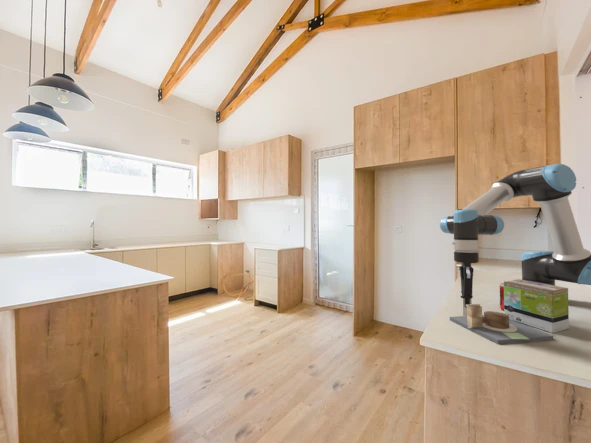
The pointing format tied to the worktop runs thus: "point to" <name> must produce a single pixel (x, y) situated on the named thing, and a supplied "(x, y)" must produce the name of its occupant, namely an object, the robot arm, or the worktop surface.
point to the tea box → (537, 304)
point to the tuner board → (505, 332)
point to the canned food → (502, 296)
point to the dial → (486, 317)
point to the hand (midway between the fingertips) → (466, 315)
